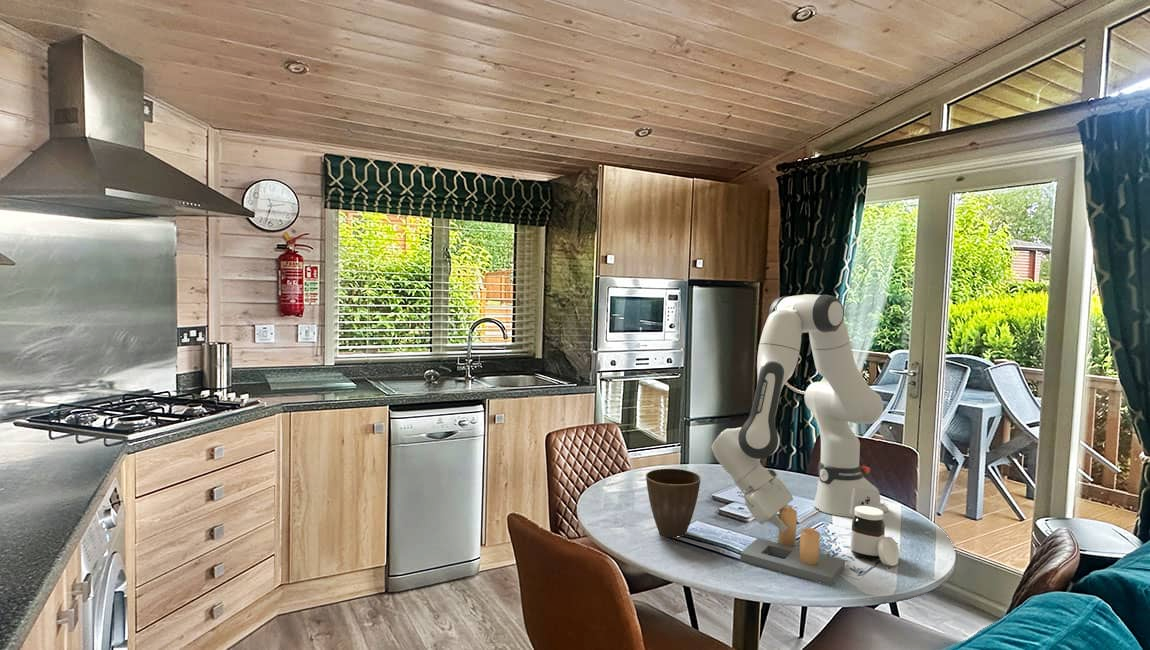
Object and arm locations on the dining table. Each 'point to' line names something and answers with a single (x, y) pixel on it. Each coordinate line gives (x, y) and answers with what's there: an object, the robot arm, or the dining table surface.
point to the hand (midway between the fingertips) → (789, 526)
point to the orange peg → (790, 519)
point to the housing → (796, 558)
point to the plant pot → (672, 499)
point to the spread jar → (872, 537)
